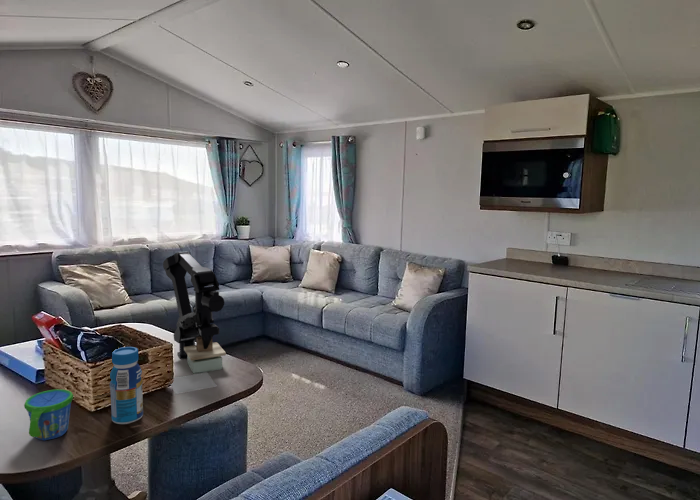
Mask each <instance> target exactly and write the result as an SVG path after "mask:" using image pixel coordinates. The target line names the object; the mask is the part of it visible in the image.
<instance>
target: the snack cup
mask: <svg viewBox="0 0 700 500" xmlns="http://www.w3.org/2000/svg"><path fill="white" fill-rule="evenodd" d="M73 399H74V394H73V392H72V391H71V390H69V389H62V388H61V389H60V388H59V389H58V388H57V389H49V390H45V391H40V392H37V393H35V394H33V395H31V396H30V397H28V398H27V399H26V400H25V402H24V404H23V406H24V409H25V410H26V411H27V414H28V418H29V428H28V434H29V436H30V437H32V438H36V439H38V440H41V441H47V440H48V441H49V440H53V439H57V438H60V437H62V436H63V435H64V434H66V433H67V431H68V429H69V425H70V424H69V422H70V416H71V415H70V414H71V407H72V406H71V404H72V401H73Z"/></svg>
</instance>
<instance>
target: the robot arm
mask: <svg viewBox="0 0 700 500" xmlns="http://www.w3.org/2000/svg"><path fill="white" fill-rule="evenodd" d="M162 262H163V263H162V264H163V265H162V266H163V270H164V272H165V274H166V276H167V277H168V279H170V280H171V282H172V287H173V292H174V296H175V297H174V298H175V300H176V306H177V312H178V315H179V316H178V318H177V322H176V329H175V332H174V333H173V335H172V336H173V340H174V342H176V343H177V344H179V351H178V352H177V353H176V354H177V356H178V358H179V359H181V360H182V359H187V354H186V352H185V350H184V347H187V346H194V345H196V337H202V342H203V347H204V349H207V348H208V346H209V344H210V341H211V339H212V340H213V338H214V336H215V335H220V328H219V326H218V325H216V324H215V321H214V320H215V319H214V318H213V312H220V311H221V310H222V309H223V308H224V307H225V302H226V301H225V299H224V298H223V296H222V295H220V283H219V281H218V279H217V276H216V274H215V273H214V271H213V270H212V269H210V267H206V266H202V265H201V264H200V263H199V262H198V261H197V260H196V259H195V258H194V257H193V256H192V255H191V252H190V251H186V250H185V251H177V252H176V253H174V254H172V255H171V256H167V258H165V259H164V260H163V261H162ZM187 273H188V274H189V276H190V282H191V284H192V286H193V291H194V299H195V300H194V303H195V306H194V307H193V309H192V307H191V306H192V305H191V301H190V297H189V291H188V287H187V281H186V275H187Z"/></svg>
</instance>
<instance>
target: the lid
mask: <svg viewBox="0 0 700 500" xmlns="http://www.w3.org/2000/svg"><path fill="white" fill-rule="evenodd" d="M184 350H185V352H186V354H187V355H188V357H189V358H190V360H191V361H193V360H199V359H205V358H211V357H218V356H221V357H222V356H226V355H227V353H226V351H225V350H224V349H223V348H222V346H221V345H220V344H219V343H218V342H214V341H213V338H212V339H211V341H210V344H209V346H208V348H207V349H204V347H203V342H202V337H196V340H195V345H194V346H187V347H184Z"/></svg>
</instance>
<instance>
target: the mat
mask: <svg viewBox="0 0 700 500" xmlns="http://www.w3.org/2000/svg"><path fill="white" fill-rule="evenodd" d="M173 378H174V382H173V383H172V384H170V386H171V387H172V390H173V393H174V395H180V394H186V393H191V392H196V391H200V390H206V389H212V388H216V387H218V386H217V384H216V383H215V381H214V380H213V378H212V377H211V376H210V373H208V372H203V373H197V374H189V375H183V376H182V375H181V376H177V377H173Z"/></svg>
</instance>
